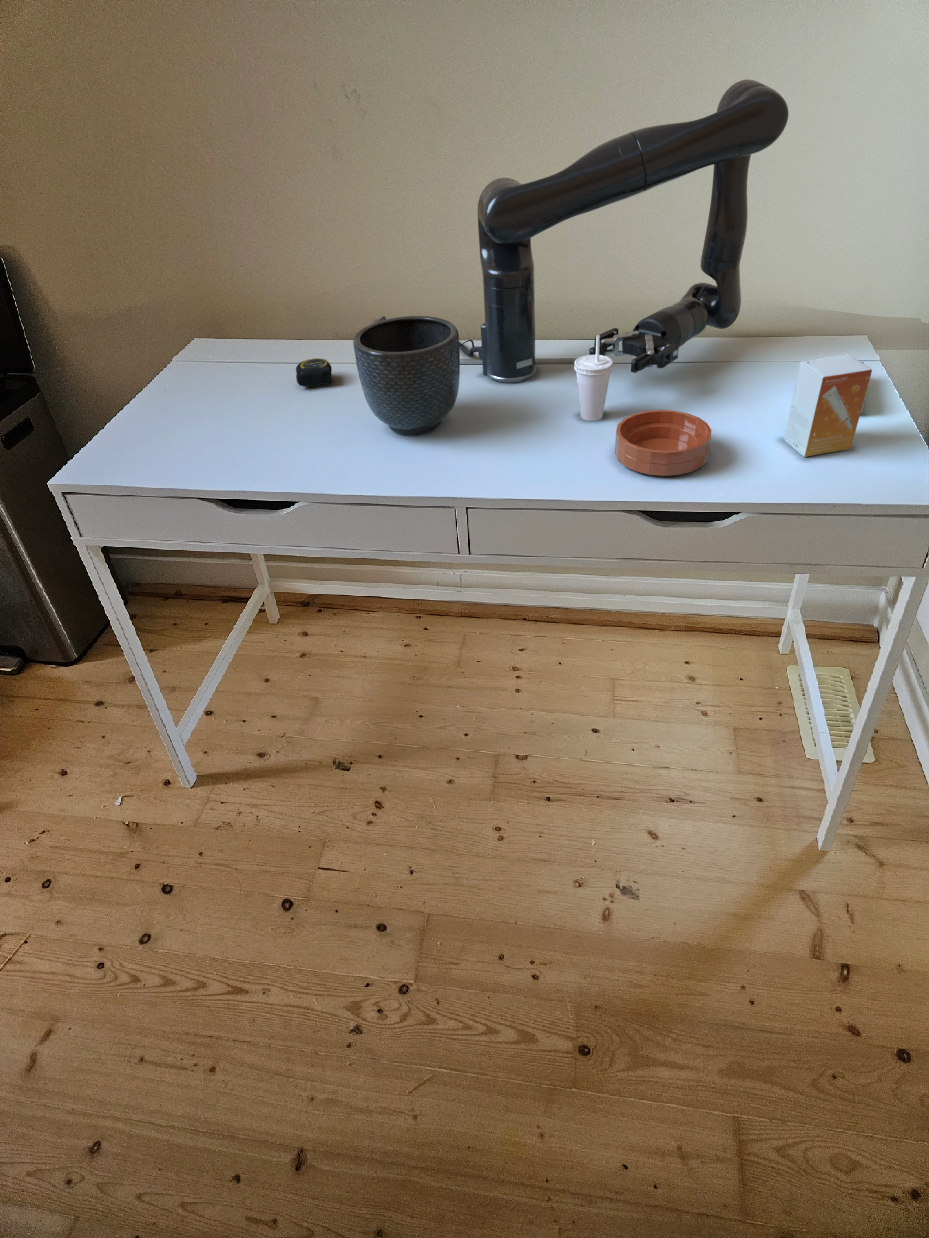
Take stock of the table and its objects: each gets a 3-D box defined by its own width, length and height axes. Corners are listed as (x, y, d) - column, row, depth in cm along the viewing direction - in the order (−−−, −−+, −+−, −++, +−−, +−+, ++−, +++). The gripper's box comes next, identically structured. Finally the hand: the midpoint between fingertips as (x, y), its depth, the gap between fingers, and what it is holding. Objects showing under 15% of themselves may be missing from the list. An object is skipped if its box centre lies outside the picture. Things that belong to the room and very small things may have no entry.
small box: (804, 458, 124) (822, 377, 116) (782, 440, 129) (798, 360, 121) (852, 450, 125) (873, 368, 117) (829, 432, 130) (848, 352, 122)
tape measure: (298, 391, 156) (294, 373, 154) (299, 377, 162) (295, 359, 159) (333, 387, 157) (330, 369, 154) (333, 373, 162) (330, 355, 160)
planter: (349, 441, 139) (333, 349, 129) (392, 399, 151) (381, 312, 141) (441, 453, 133) (432, 358, 123) (479, 408, 145) (473, 318, 135)
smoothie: (609, 425, 137) (613, 343, 128) (571, 424, 138) (572, 343, 129) (611, 408, 142) (616, 328, 133) (574, 407, 143) (576, 328, 134)
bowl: (599, 466, 127) (600, 440, 124) (637, 428, 135) (639, 403, 133) (687, 487, 120) (690, 460, 117) (720, 446, 129) (724, 420, 126)
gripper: (632, 303, 148) (578, 331, 139) (701, 318, 140) (649, 348, 131) (629, 344, 153) (577, 373, 144) (696, 361, 145) (645, 392, 136)
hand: (611, 361), depth 138 cm, fingers open, 8 cm apart
